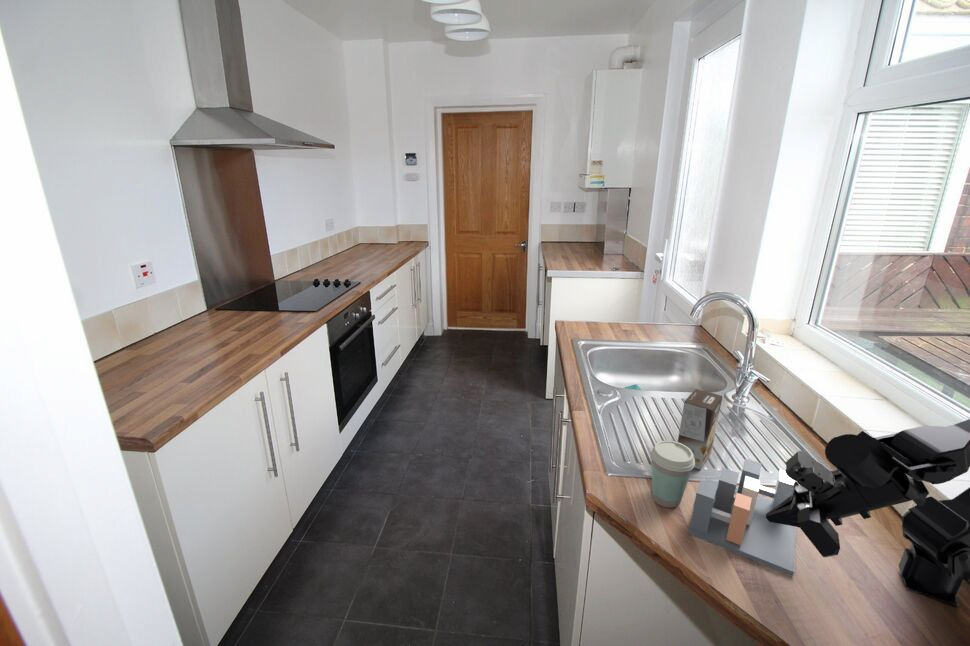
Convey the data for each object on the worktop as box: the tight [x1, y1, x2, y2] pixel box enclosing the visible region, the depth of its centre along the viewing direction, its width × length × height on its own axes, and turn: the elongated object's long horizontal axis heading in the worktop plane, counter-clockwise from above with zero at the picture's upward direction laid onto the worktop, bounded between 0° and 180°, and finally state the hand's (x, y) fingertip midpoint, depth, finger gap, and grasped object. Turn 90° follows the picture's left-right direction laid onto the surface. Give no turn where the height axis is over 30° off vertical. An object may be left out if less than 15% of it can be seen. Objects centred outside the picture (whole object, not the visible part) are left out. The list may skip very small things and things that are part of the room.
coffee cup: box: [650, 440, 695, 508], centre depth 94 cm, size 8×8×12 cm
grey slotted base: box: [688, 458, 796, 577], centre depth 88 cm, size 17×18×9 cm
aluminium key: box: [758, 469, 795, 510], centre depth 91 cm, size 7×4×8 cm, turn 56°
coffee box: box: [677, 388, 723, 470], centre depth 107 cm, size 9×6×16 cm
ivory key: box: [715, 476, 761, 525], centre depth 89 cm, size 7×4×8 cm, turn 56°
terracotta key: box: [711, 493, 752, 545], centre depth 84 cm, size 7×4×8 cm, turn 56°
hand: (767, 518), depth 80 cm, fingers closed
